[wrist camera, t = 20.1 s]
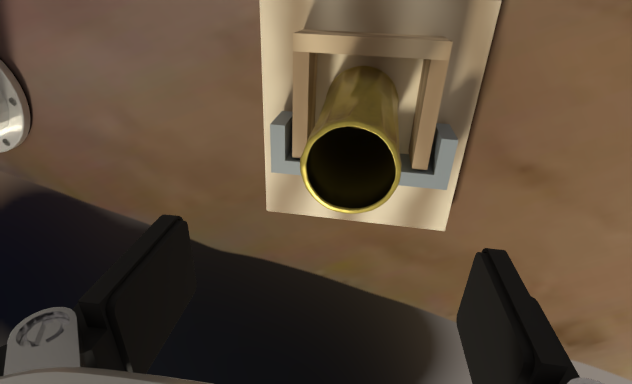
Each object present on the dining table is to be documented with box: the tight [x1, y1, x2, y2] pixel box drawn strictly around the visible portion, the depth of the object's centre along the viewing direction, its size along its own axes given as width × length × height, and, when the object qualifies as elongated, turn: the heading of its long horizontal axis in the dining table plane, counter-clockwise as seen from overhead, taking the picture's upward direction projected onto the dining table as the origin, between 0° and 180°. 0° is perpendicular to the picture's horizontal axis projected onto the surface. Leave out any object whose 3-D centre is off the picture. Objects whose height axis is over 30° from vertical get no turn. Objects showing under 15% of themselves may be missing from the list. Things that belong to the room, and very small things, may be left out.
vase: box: [300, 66, 402, 214], centre depth 25 cm, size 6×6×14 cm
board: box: [260, 0, 501, 231], centre depth 31 cm, size 18×20×6 cm
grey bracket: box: [270, 111, 458, 190], centre depth 30 cm, size 14×4×4 cm, turn 88°
